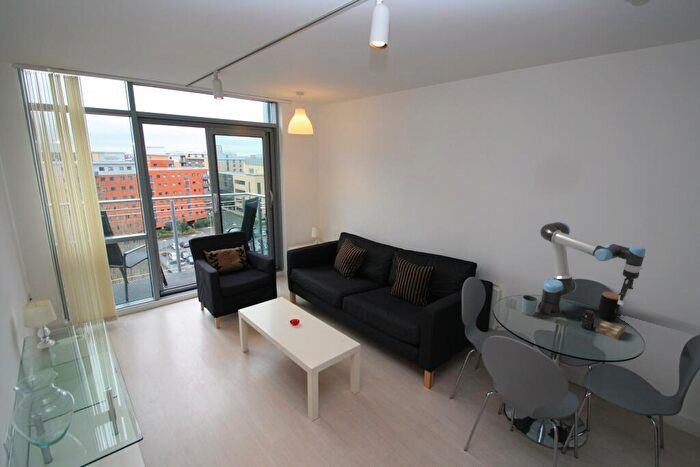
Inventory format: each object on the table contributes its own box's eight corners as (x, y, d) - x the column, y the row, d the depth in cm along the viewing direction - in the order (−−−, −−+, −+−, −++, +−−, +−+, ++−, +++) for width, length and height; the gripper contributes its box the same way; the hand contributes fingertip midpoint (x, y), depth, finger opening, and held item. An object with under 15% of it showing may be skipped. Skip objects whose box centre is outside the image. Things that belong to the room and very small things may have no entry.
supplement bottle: (580, 323, 220) (584, 308, 217) (593, 327, 216) (596, 311, 213) (579, 328, 215) (583, 312, 212) (592, 331, 211) (596, 315, 208)
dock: (595, 331, 212) (596, 324, 210) (602, 324, 219) (603, 317, 218) (617, 339, 202) (619, 332, 201) (624, 332, 210) (625, 325, 208)
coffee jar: (616, 323, 220) (622, 299, 215) (596, 318, 226) (602, 295, 221) (615, 316, 228) (621, 294, 223) (597, 312, 234) (602, 289, 229)
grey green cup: (538, 316, 230) (541, 301, 226) (524, 316, 230) (526, 301, 227) (531, 309, 240) (533, 294, 236) (517, 309, 240) (519, 294, 236)
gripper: (634, 278, 188) (625, 310, 195) (644, 267, 203) (635, 297, 210) (618, 273, 194) (610, 305, 200) (629, 263, 209) (620, 293, 215)
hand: (623, 301), depth 205 cm, fingers open, 13 cm apart
